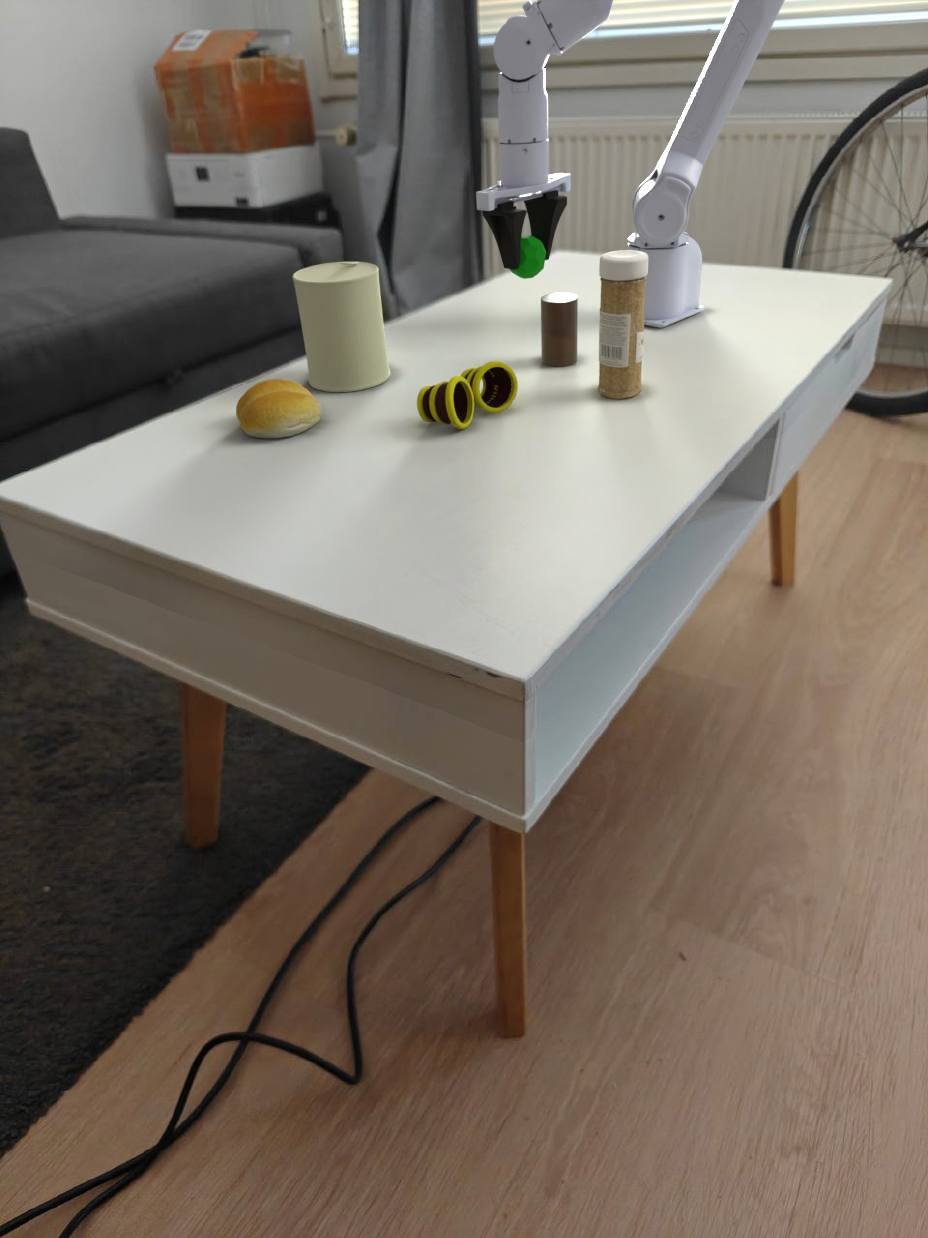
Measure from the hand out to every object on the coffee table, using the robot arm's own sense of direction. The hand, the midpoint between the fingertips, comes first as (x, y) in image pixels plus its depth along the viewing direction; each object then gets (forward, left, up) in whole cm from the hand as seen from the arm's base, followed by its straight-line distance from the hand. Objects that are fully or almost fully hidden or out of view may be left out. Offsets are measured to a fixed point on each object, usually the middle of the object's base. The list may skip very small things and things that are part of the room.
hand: (526, 263), depth 111 cm
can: (+28, -1, -7) cm, 29 cm away
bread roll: (+41, +4, -7) cm, 42 cm away
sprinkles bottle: (+14, +26, -7) cm, 30 cm away
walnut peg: (+10, +14, -7) cm, 19 cm away
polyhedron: (0, 0, -2) cm, 2 cm away
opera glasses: (+28, +18, -7) cm, 34 cm away
